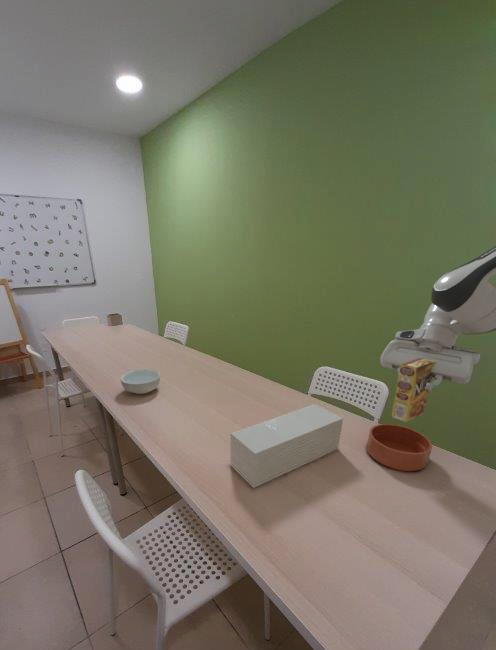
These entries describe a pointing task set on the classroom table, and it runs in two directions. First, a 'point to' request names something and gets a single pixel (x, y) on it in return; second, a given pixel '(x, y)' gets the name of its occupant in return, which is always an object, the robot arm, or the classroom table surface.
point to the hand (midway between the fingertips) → (413, 387)
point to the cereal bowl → (140, 381)
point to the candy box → (412, 389)
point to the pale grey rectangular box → (284, 443)
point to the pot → (398, 447)
